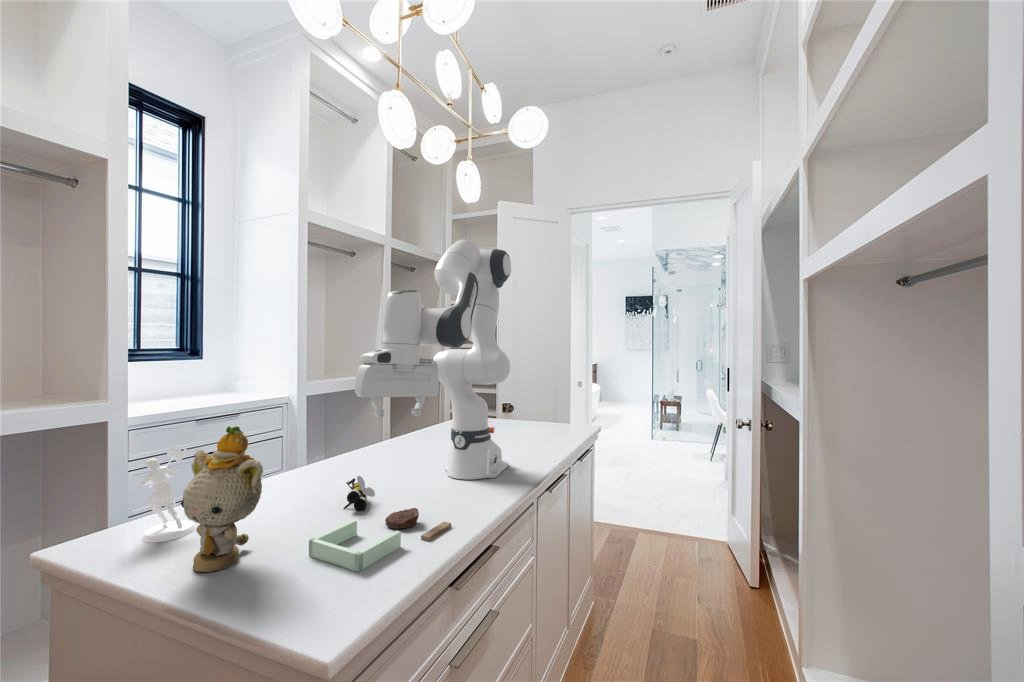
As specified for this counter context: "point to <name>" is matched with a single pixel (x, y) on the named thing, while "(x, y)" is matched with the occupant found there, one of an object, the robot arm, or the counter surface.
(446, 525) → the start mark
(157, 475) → the figurine
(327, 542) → the green u-shaped bracket
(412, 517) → the stone
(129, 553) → the counter surface
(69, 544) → the counter surface
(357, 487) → the toy
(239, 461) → the figurine
